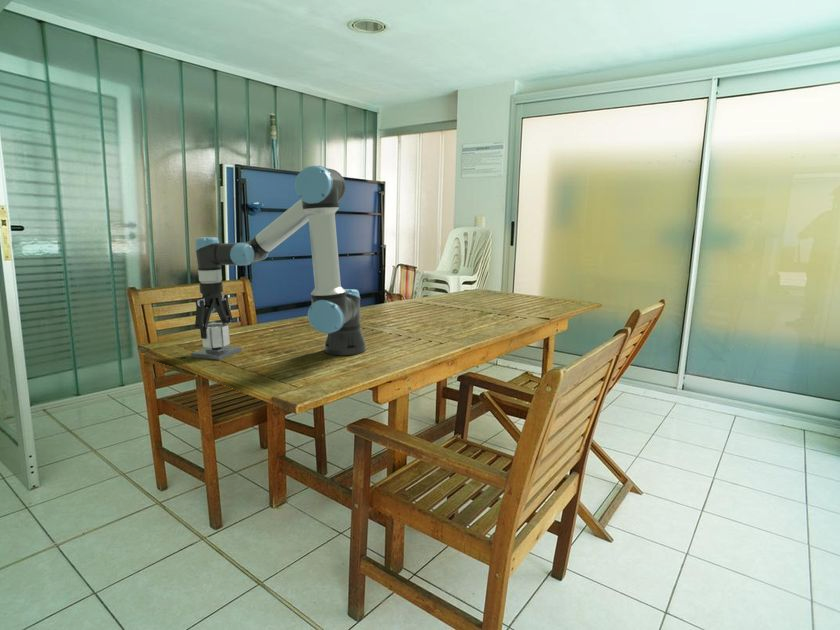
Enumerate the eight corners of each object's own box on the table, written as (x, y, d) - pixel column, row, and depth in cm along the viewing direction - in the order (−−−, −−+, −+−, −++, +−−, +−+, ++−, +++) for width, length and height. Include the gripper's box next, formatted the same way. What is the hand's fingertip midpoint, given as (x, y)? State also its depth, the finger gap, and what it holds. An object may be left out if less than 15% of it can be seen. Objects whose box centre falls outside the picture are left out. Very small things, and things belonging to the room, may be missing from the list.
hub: (235, 342, 181) (233, 323, 180) (218, 348, 173) (216, 329, 171) (214, 340, 184) (213, 322, 182) (197, 346, 176) (195, 327, 174)
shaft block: (241, 351, 183) (240, 330, 181) (219, 360, 172) (217, 337, 170) (215, 348, 186) (213, 328, 185) (191, 357, 175) (189, 335, 174)
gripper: (222, 277, 185) (228, 336, 190) (178, 285, 165) (185, 350, 169) (239, 278, 183) (244, 337, 187) (196, 286, 163) (203, 352, 167)
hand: (216, 343), depth 178 cm, fingers closed on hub, 9 cm apart
